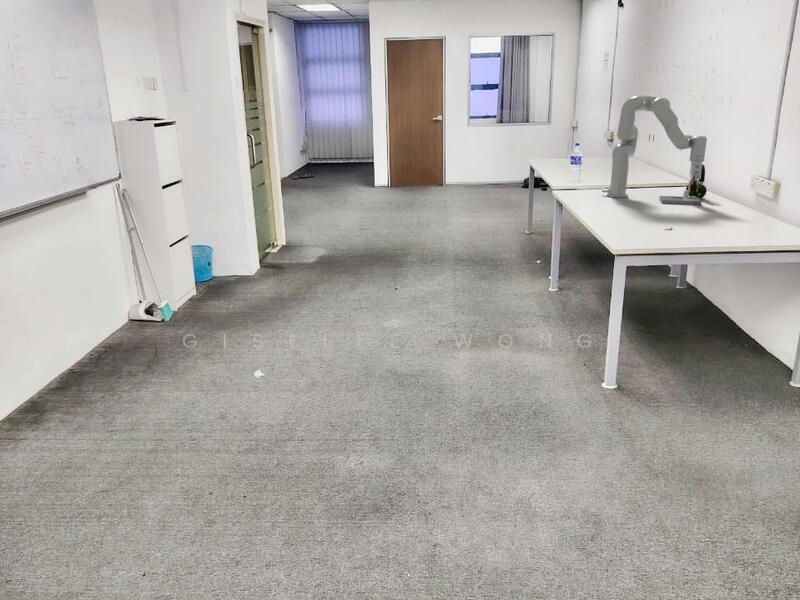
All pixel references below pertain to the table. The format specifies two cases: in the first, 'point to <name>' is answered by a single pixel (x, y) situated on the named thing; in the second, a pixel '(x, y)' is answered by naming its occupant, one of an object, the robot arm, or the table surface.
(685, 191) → the block
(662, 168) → the table surface
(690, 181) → the cap
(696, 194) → the headphones
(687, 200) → the panel
